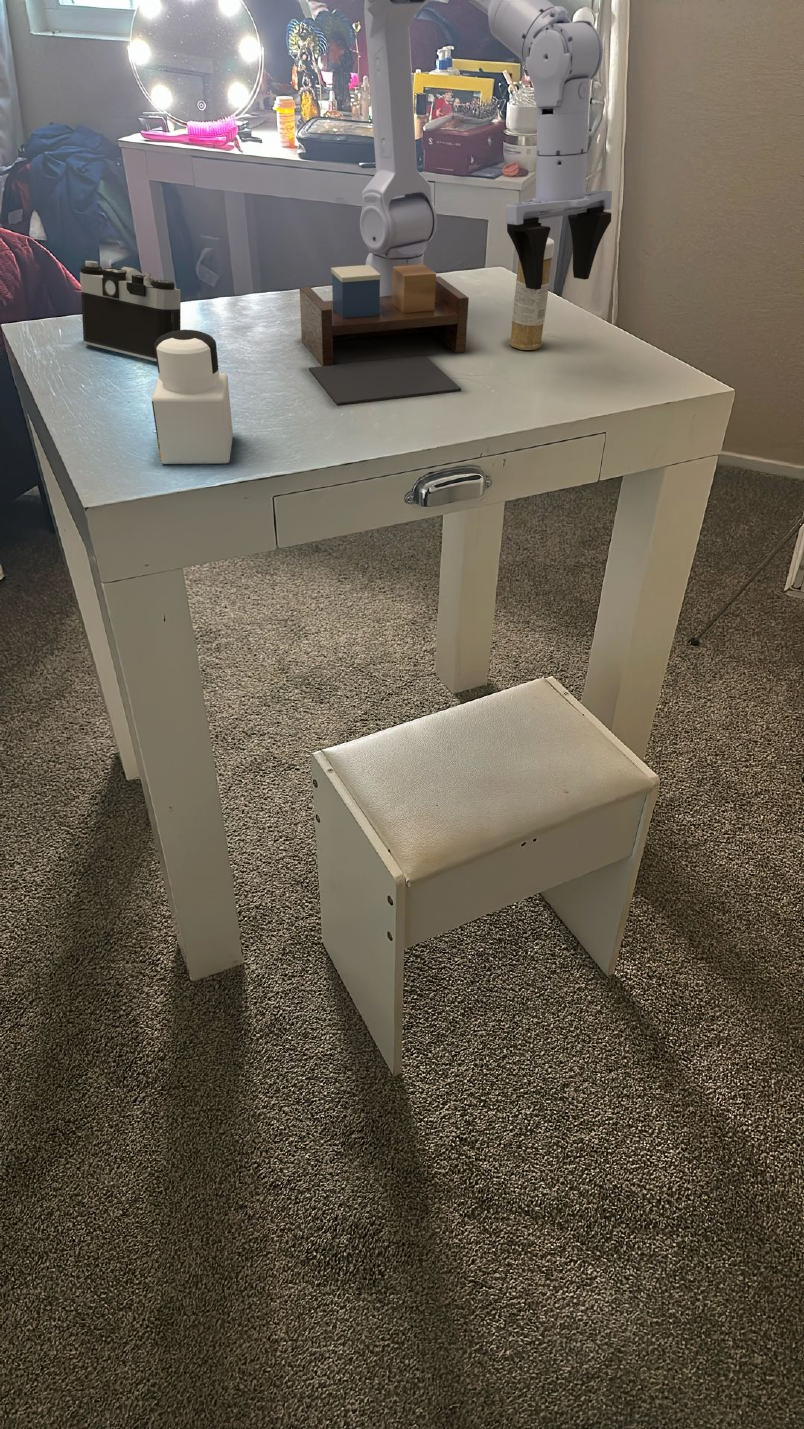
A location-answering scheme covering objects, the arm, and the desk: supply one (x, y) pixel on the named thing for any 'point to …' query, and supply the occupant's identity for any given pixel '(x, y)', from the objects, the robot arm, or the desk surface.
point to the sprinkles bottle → (530, 307)
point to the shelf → (383, 321)
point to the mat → (383, 380)
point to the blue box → (356, 291)
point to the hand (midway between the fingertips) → (557, 283)
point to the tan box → (413, 288)
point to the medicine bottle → (191, 400)
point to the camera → (127, 309)
